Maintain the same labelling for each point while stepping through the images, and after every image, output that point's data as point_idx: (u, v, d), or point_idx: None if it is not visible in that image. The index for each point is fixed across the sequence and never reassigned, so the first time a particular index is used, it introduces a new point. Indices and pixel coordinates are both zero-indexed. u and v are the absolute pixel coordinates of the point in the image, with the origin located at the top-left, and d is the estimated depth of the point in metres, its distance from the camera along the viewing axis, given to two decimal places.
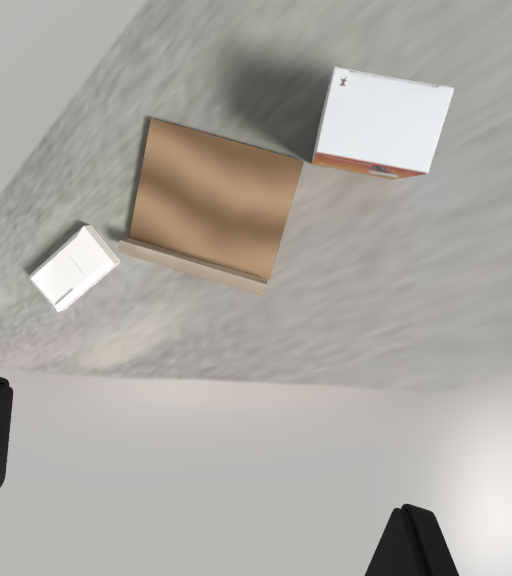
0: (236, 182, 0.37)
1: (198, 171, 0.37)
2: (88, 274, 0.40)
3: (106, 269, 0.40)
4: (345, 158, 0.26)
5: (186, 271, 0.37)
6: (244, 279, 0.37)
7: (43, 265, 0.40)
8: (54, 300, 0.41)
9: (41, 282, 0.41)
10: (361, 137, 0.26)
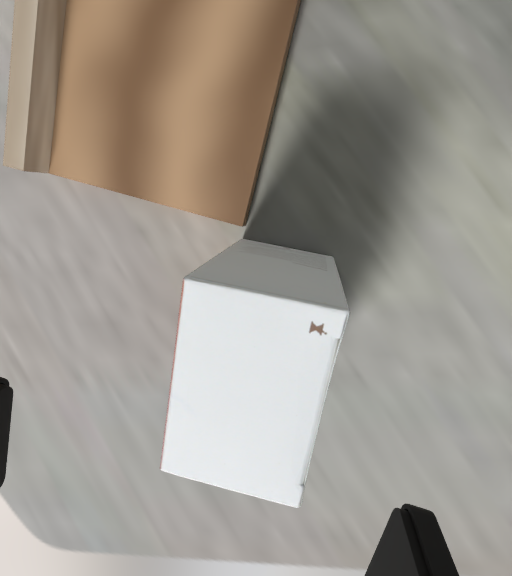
0: (203, 106, 0.20)
1: (219, 23, 0.19)
2: None
3: None
4: (177, 334, 0.13)
5: None
6: (24, 128, 0.20)
7: None
8: None
9: None
10: (214, 364, 0.13)
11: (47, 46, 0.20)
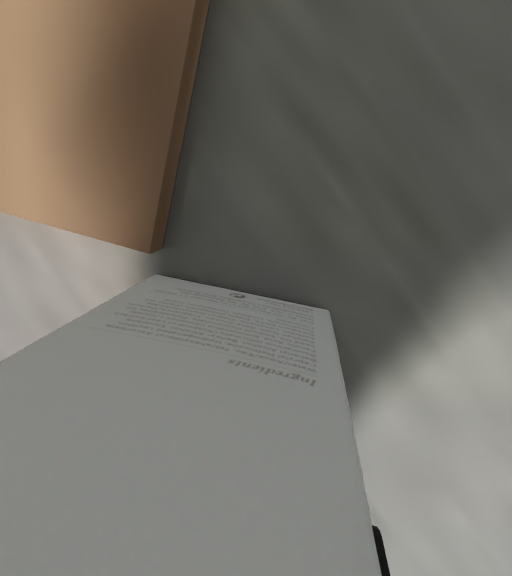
0: (54, 2, 0.10)
1: None
2: None
3: None
4: None
5: None
6: None
7: None
8: None
9: None
10: None
11: None
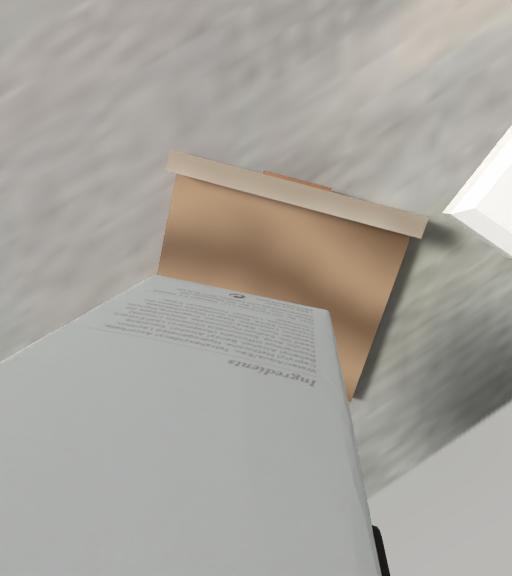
0: None
1: None
2: (499, 181, 0.21)
3: (465, 199, 0.22)
4: None
5: (301, 186, 0.21)
6: (200, 176, 0.22)
7: None
8: None
9: None
10: None
11: None
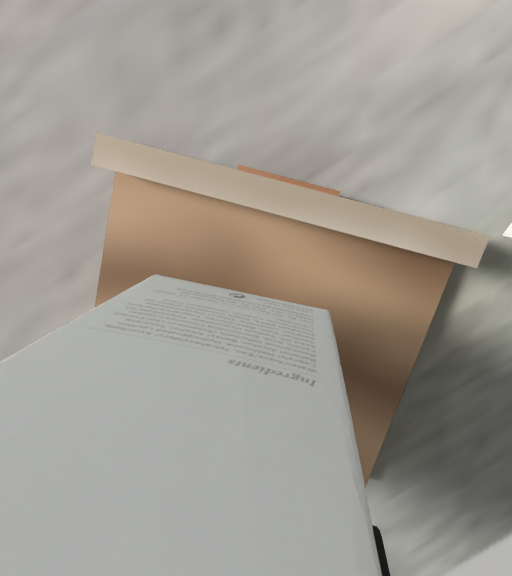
0: None
1: None
2: None
3: None
4: None
5: (294, 188, 0.14)
6: (143, 174, 0.15)
7: None
8: None
9: None
10: None
11: None
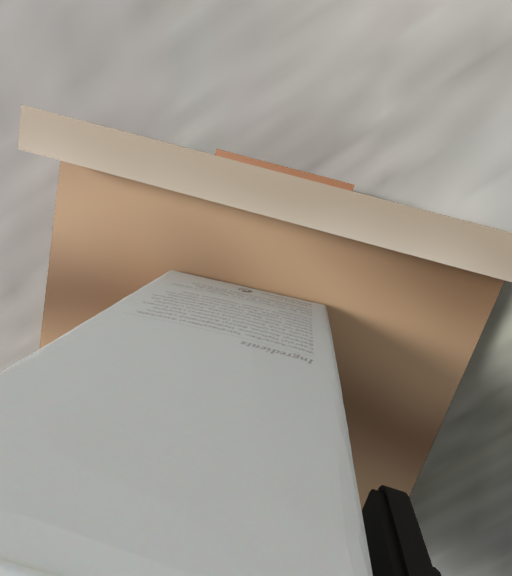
0: None
1: None
2: None
3: None
4: None
5: (292, 180, 0.10)
6: (87, 161, 0.11)
7: None
8: None
9: None
10: None
11: None
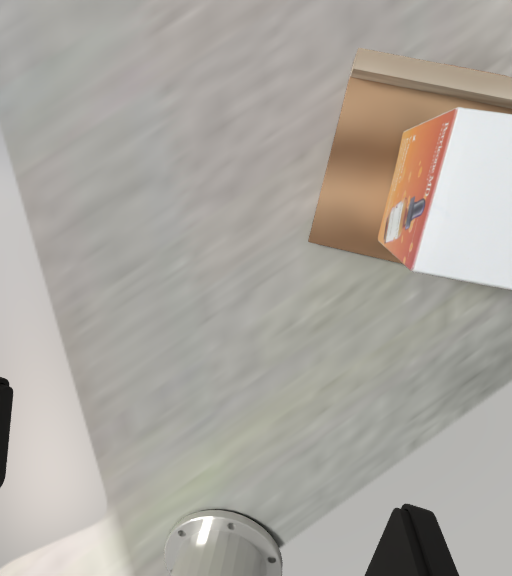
0: None
1: None
2: None
3: None
4: (442, 156, 0.18)
5: (483, 74, 0.24)
6: (386, 72, 0.24)
7: None
8: None
9: None
10: (472, 175, 0.18)
11: (447, 91, 0.25)
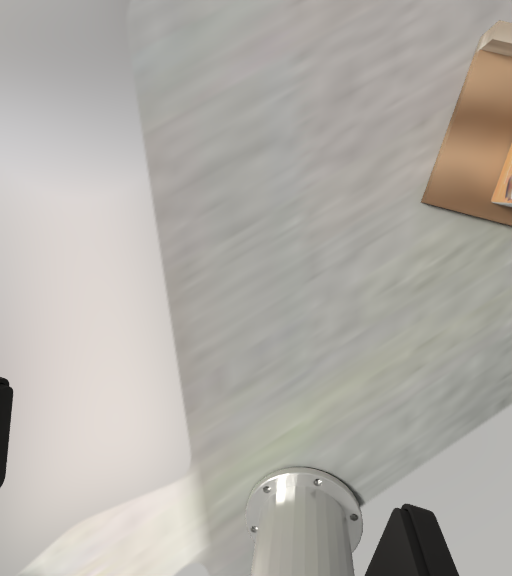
0: None
1: None
2: None
3: None
4: None
5: None
6: None
7: None
8: None
9: None
10: None
11: None
